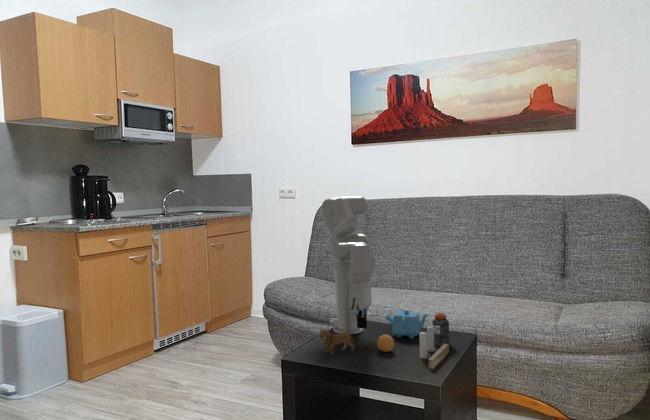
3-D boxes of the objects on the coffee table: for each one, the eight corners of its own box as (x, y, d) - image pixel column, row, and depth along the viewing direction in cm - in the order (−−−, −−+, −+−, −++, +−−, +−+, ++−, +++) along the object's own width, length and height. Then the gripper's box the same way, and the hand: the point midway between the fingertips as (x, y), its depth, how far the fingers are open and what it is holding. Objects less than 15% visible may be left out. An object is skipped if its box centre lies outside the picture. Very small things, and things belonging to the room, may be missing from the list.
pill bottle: (448, 341, 179) (447, 311, 179) (450, 346, 173) (450, 315, 173) (431, 341, 180) (431, 311, 180) (433, 346, 174) (433, 315, 174)
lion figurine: (322, 357, 165) (322, 332, 165) (316, 353, 170) (315, 328, 170) (359, 350, 172) (358, 325, 171) (352, 346, 177) (351, 322, 176)
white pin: (418, 358, 162) (418, 333, 162) (421, 356, 164) (420, 331, 164) (425, 359, 161) (425, 334, 161) (428, 357, 163) (427, 332, 163)
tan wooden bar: (428, 368, 152) (428, 359, 152) (444, 351, 168) (444, 343, 168) (433, 369, 152) (432, 360, 152) (449, 352, 167) (448, 344, 167)
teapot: (380, 337, 186) (380, 312, 185) (390, 328, 199) (389, 304, 198) (427, 342, 179) (426, 316, 178) (433, 332, 192) (433, 307, 191)
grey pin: (426, 351, 169) (426, 327, 169) (428, 349, 171) (428, 325, 171) (433, 352, 168) (432, 328, 168) (435, 350, 170) (434, 326, 170)
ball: (374, 352, 169) (374, 336, 168) (381, 347, 174) (381, 331, 174) (390, 355, 166) (389, 338, 165) (396, 350, 171) (396, 333, 171)
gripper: (360, 274, 182) (361, 322, 182) (341, 280, 169) (343, 331, 169) (378, 275, 178) (379, 324, 178) (360, 281, 165) (362, 333, 165)
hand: (362, 327), depth 173 cm, fingers closed
